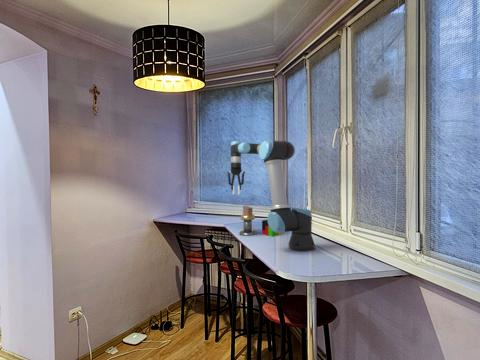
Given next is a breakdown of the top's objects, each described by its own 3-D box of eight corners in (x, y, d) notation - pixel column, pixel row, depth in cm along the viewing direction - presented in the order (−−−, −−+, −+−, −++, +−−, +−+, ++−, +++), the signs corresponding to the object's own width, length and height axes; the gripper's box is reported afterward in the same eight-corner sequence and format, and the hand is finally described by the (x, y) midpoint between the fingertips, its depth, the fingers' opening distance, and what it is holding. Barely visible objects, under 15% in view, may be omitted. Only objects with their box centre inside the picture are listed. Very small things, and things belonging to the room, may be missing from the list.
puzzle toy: (271, 232, 231) (271, 219, 231) (281, 234, 224) (281, 220, 224) (262, 234, 225) (262, 220, 225) (272, 236, 217) (272, 222, 217)
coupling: (257, 220, 217) (257, 207, 217) (243, 221, 215) (243, 208, 215) (251, 217, 234) (251, 205, 234) (238, 217, 232) (238, 205, 232)
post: (257, 235, 220) (257, 220, 220) (241, 236, 218) (241, 221, 218) (253, 232, 232) (253, 218, 232) (237, 233, 230) (237, 218, 229)
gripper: (245, 162, 234) (245, 193, 235) (224, 162, 231) (224, 194, 232) (248, 162, 227) (248, 194, 228) (225, 162, 224) (225, 194, 224)
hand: (236, 194), depth 230 cm, fingers open, 3 cm apart
